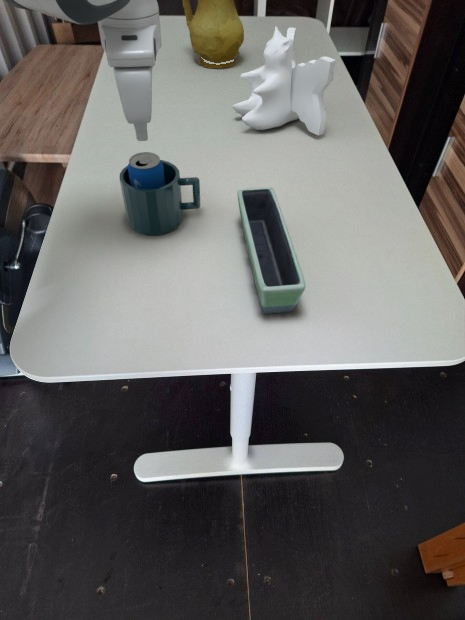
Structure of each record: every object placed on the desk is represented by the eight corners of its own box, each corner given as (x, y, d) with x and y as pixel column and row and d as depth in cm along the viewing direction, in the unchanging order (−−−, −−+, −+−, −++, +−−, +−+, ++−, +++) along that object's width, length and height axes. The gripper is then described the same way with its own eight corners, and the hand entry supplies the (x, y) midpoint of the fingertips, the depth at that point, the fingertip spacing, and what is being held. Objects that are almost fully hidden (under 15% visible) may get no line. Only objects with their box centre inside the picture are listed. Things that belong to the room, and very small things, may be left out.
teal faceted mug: (127, 238, 86) (118, 193, 78) (128, 204, 93) (120, 160, 86) (203, 232, 87) (202, 187, 80) (198, 199, 95) (196, 156, 87)
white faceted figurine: (222, 107, 125) (222, 19, 109) (292, 98, 130) (302, 13, 114) (253, 150, 109) (258, 55, 93) (331, 138, 114) (348, 46, 98)
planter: (235, 219, 90) (236, 188, 85) (270, 217, 91) (273, 186, 86) (257, 321, 72) (260, 290, 67) (301, 317, 73) (307, 286, 68)
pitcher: (214, 74, 139) (212, -25, 122) (178, 61, 149) (172, -33, 132) (254, 64, 147) (257, -31, 130) (218, 51, 157) (216, -38, 140)
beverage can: (129, 216, 89) (118, 161, 80) (150, 201, 93) (143, 147, 84) (153, 228, 87) (145, 173, 78) (174, 212, 91) (169, 158, 82)
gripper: (110, 13, 72) (123, 100, 82) (106, 58, 58) (122, 156, 69) (150, 12, 73) (158, 99, 83) (154, 57, 59) (163, 154, 69)
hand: (142, 125), depth 76 cm, fingers open, 8 cm apart
